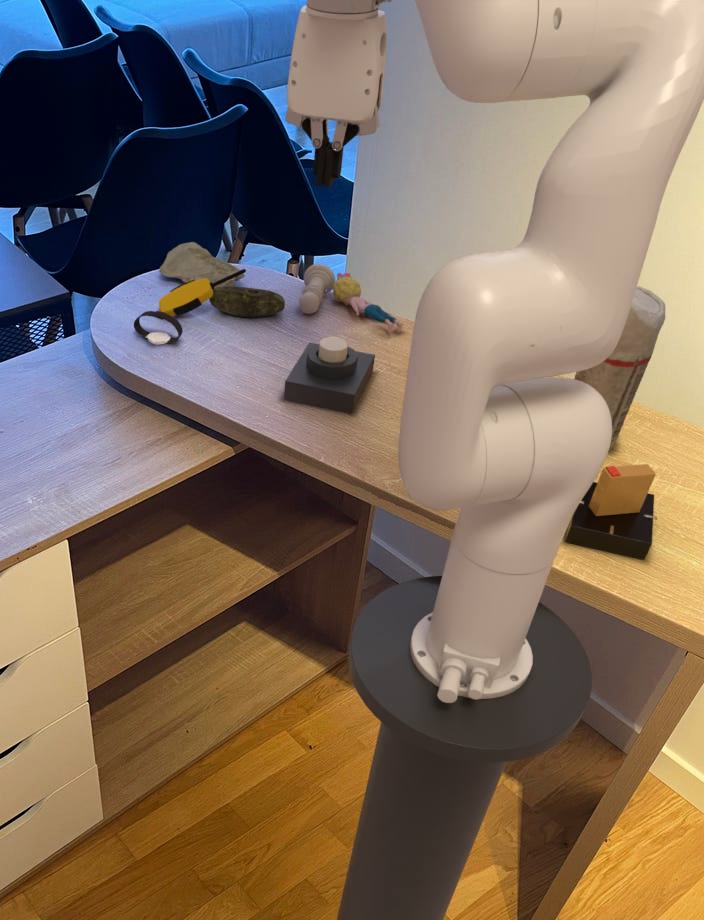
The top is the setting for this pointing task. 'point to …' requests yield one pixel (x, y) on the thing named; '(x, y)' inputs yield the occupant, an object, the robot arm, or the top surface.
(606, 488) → the knob
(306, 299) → the chess piece
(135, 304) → the top surface
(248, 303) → the decorative stone
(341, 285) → the figurine
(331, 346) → the white push button
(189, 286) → the walkie talkie
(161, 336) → the watch
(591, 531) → the panel
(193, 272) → the stone
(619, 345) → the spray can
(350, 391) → the dark grey button base
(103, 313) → the top surface
